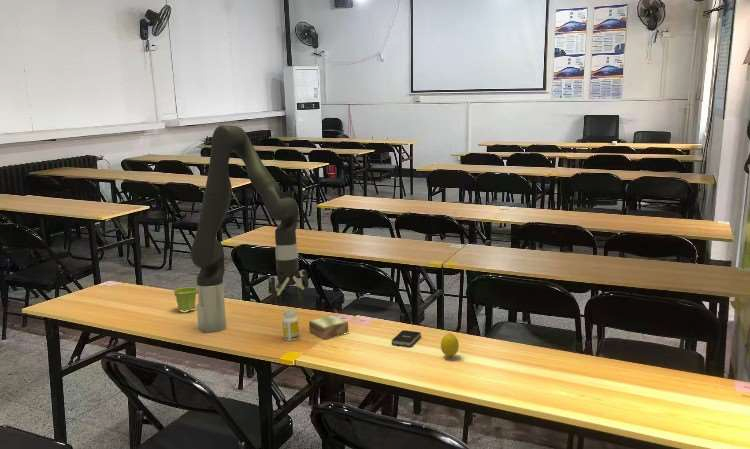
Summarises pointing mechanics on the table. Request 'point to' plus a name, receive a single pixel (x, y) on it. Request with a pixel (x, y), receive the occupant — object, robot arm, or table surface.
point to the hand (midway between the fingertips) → (289, 302)
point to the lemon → (449, 345)
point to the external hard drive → (406, 338)
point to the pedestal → (328, 327)
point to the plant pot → (186, 298)
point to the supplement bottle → (290, 325)
